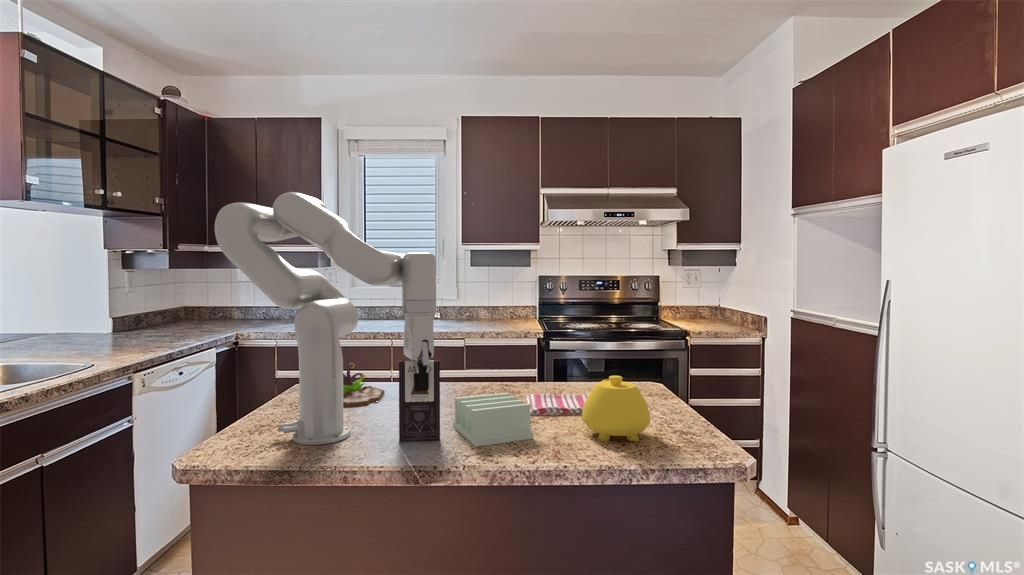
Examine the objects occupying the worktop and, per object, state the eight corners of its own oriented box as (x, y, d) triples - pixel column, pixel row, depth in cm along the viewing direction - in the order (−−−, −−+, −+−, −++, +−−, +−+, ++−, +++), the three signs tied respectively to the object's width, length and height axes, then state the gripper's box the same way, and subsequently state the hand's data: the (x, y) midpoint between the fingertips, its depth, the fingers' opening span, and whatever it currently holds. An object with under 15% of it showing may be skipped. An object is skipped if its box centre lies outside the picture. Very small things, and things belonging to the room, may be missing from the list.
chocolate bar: (399, 441, 115) (398, 361, 114) (399, 440, 116) (399, 360, 115) (439, 440, 116) (439, 360, 115) (440, 439, 117) (439, 360, 116)
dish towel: (616, 416, 137) (616, 403, 137) (529, 417, 136) (529, 404, 136) (602, 401, 154) (602, 389, 154) (524, 401, 153) (524, 390, 153)
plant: (394, 395, 161) (393, 359, 160) (366, 411, 141) (366, 371, 141) (334, 392, 164) (334, 357, 164) (299, 408, 144) (299, 369, 144)
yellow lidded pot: (576, 419, 132) (576, 366, 132) (636, 420, 132) (637, 366, 132) (586, 445, 112) (586, 383, 112) (657, 446, 112) (658, 383, 112)
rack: (475, 446, 111) (475, 412, 111) (453, 426, 126) (453, 396, 126) (533, 438, 117) (533, 405, 117) (505, 420, 132) (505, 391, 132)
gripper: (395, 306, 121) (396, 384, 121) (410, 310, 106) (411, 399, 107) (427, 305, 124) (427, 381, 124) (445, 309, 109) (446, 395, 110)
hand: (419, 388), depth 115 cm, fingers closed on chocolate bar, 2 cm apart
